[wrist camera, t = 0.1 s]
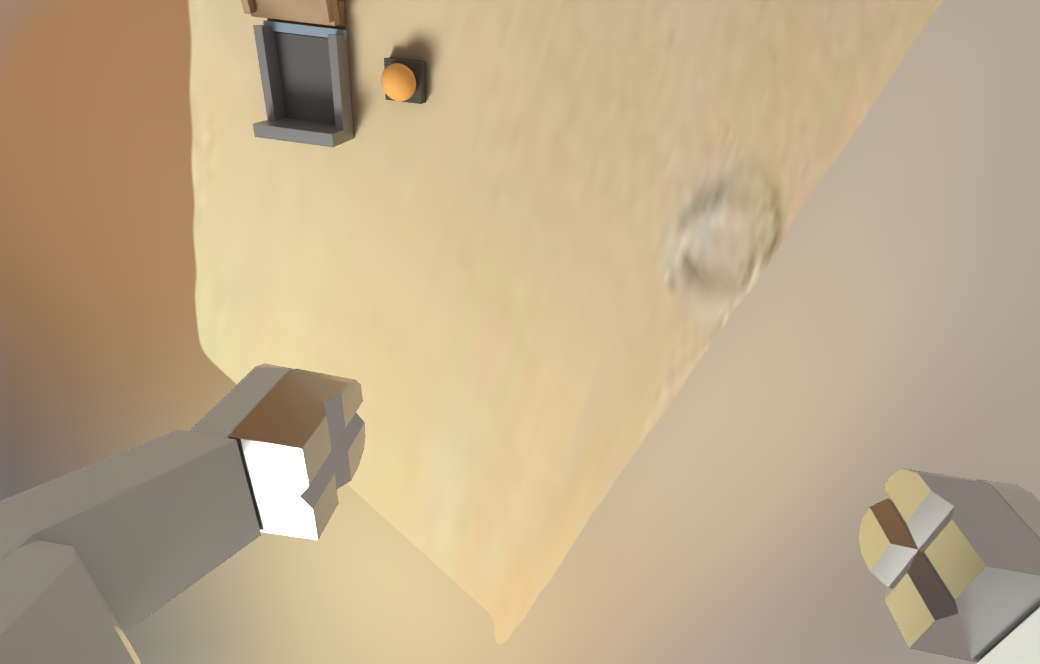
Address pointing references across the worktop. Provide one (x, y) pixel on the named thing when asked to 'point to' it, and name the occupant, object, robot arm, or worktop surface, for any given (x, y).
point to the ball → (398, 82)
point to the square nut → (420, 78)
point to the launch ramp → (299, 10)
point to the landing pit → (304, 84)
